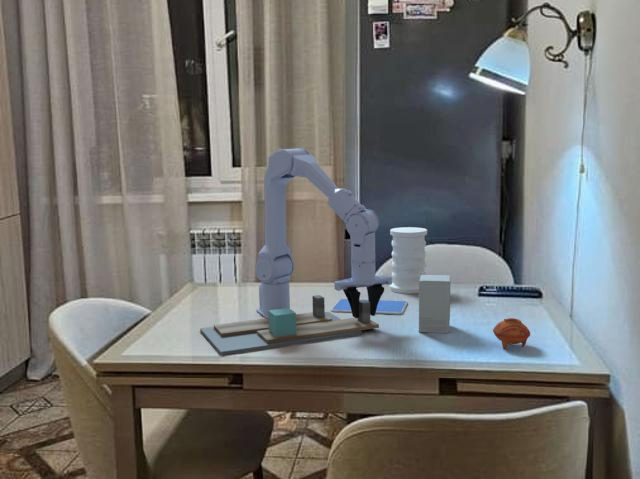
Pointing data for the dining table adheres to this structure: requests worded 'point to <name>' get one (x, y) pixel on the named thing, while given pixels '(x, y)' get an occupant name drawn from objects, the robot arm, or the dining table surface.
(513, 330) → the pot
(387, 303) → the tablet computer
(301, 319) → the strip
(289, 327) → the teal block
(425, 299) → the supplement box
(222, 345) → the lane board
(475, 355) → the dining table surface
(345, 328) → the strip
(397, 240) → the decorative container
